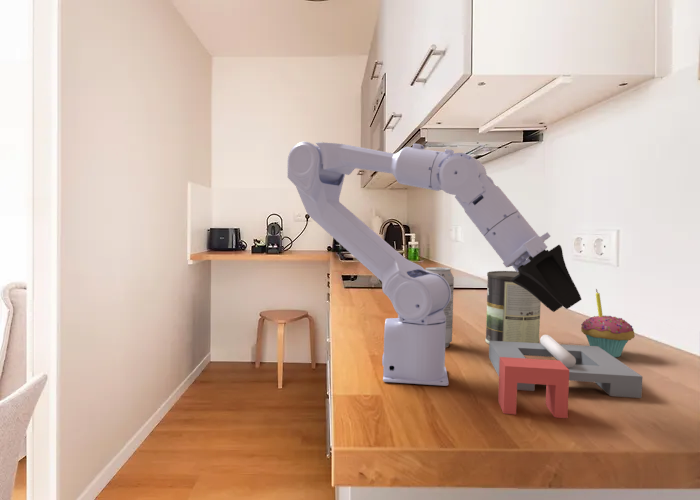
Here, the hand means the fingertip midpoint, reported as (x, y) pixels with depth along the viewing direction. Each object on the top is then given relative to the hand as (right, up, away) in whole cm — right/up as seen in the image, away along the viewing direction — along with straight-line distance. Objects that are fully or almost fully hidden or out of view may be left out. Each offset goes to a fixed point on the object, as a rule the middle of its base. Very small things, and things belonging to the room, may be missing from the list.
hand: (566, 306), depth 60 cm
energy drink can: (-11, -11, +30) cm, 34 cm away
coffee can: (+4, -12, +31) cm, 34 cm away
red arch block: (-5, -13, -1) cm, 14 cm away
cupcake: (+19, -12, +25) cm, 34 cm away
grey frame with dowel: (+4, -12, +12) cm, 18 cm away
